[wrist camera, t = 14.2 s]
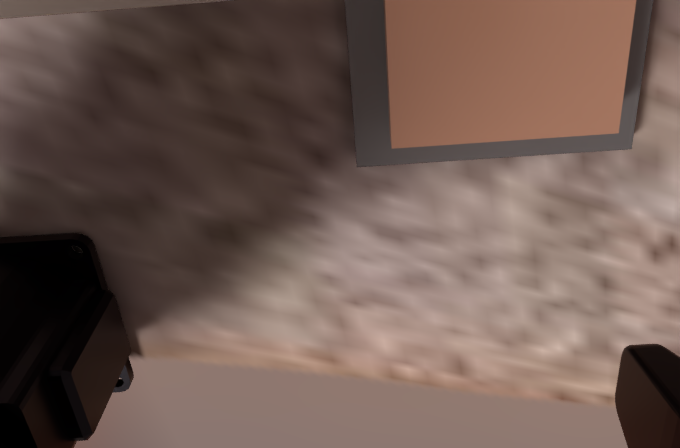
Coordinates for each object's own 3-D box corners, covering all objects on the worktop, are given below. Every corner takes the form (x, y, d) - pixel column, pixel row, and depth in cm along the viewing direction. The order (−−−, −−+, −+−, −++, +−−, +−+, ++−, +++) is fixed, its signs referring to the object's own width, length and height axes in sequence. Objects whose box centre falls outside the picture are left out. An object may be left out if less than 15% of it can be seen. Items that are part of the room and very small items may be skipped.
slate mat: (356, 159, 20) (356, 167, 19) (332, -178, 16) (331, -180, 15) (624, 141, 20) (631, 149, 19) (673, -210, 15) (684, -213, 15)
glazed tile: (378, -102, 16) (388, 130, 19) (380, -99, 15) (391, 148, 18) (629, -124, 16) (601, 115, 19) (652, -123, 14) (618, 133, 17)
